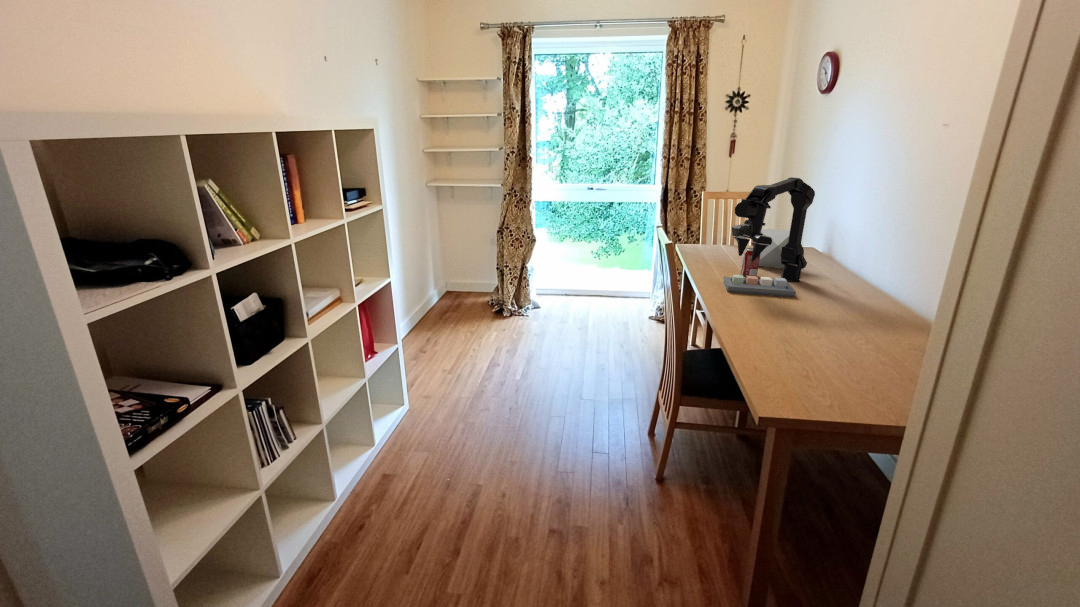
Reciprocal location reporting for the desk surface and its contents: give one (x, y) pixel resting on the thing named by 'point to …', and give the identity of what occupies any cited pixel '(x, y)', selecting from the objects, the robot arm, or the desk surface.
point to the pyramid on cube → (774, 248)
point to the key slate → (780, 282)
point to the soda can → (749, 264)
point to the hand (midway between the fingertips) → (746, 258)
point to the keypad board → (758, 288)
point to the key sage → (738, 279)
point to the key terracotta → (752, 280)
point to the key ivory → (766, 281)
